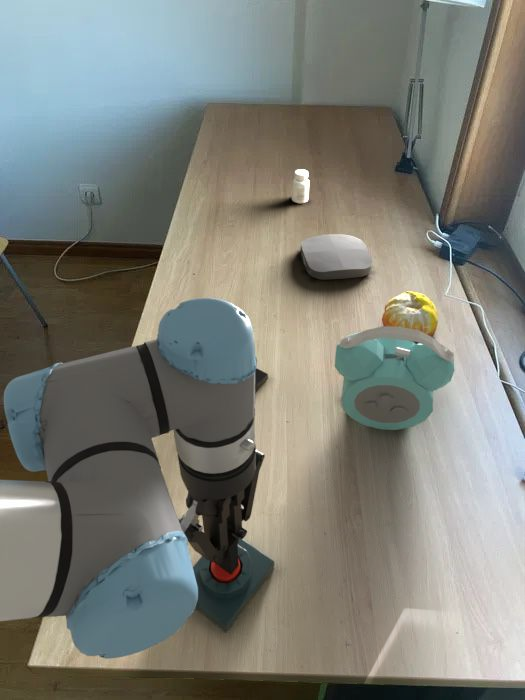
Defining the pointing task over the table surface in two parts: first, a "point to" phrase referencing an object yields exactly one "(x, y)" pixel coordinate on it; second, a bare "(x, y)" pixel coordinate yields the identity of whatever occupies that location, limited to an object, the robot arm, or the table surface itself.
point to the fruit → (411, 313)
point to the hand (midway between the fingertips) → (226, 563)
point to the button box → (231, 586)
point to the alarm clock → (391, 376)
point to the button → (224, 573)
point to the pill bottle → (300, 186)
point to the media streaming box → (335, 256)
